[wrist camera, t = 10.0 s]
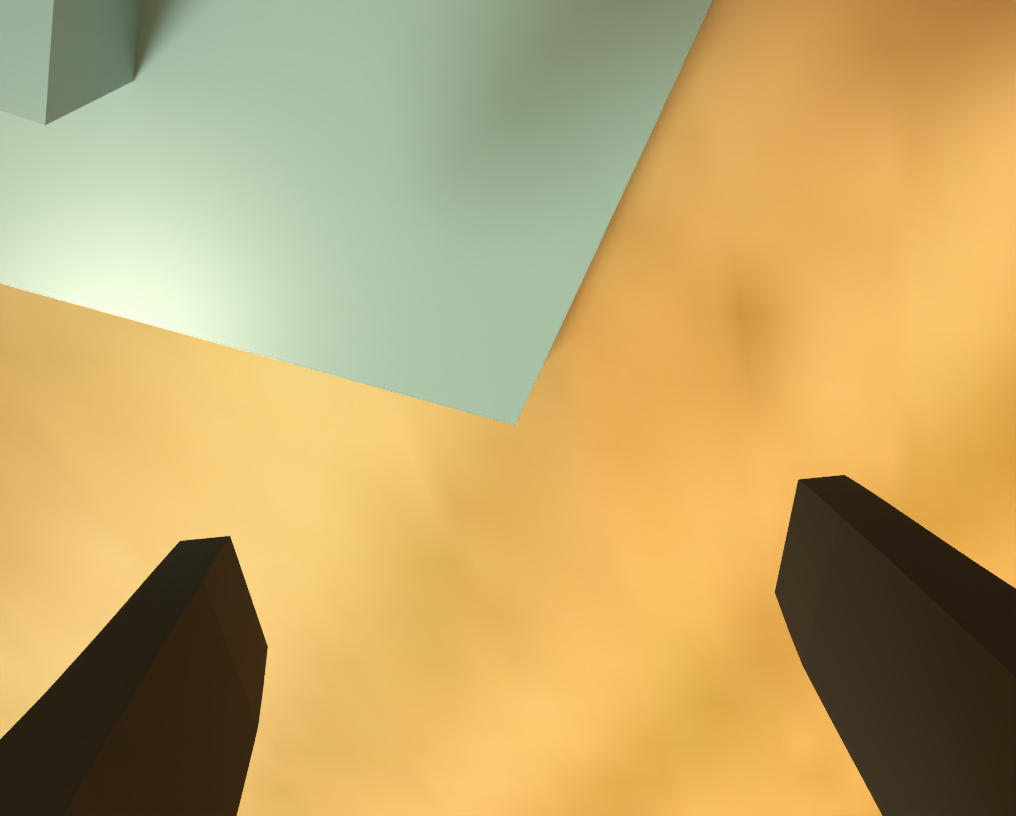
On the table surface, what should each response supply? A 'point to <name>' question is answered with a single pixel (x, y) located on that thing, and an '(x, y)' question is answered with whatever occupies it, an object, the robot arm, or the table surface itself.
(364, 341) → the lid
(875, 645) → the robot arm
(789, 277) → the table surface
